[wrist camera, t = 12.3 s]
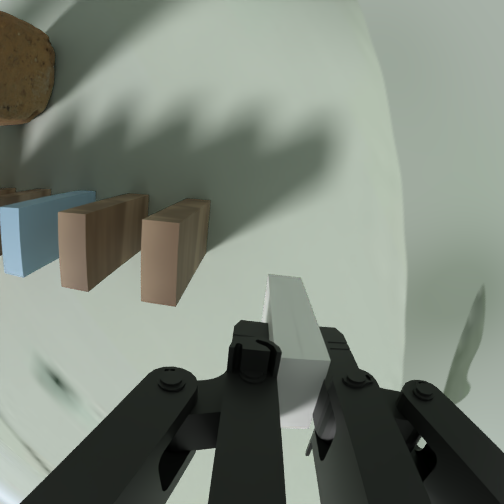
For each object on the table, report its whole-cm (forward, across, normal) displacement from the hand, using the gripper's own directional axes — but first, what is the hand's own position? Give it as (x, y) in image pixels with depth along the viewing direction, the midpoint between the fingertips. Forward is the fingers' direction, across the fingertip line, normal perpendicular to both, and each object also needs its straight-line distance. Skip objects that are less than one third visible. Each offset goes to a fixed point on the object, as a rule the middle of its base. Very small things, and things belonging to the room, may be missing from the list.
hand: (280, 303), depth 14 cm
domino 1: (+15, -7, 0) cm, 17 cm away
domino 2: (+15, -13, 0) cm, 20 cm away
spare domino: (+15, -19, 0) cm, 24 cm away
